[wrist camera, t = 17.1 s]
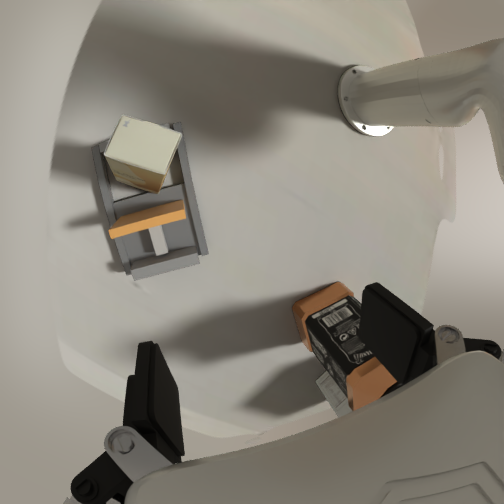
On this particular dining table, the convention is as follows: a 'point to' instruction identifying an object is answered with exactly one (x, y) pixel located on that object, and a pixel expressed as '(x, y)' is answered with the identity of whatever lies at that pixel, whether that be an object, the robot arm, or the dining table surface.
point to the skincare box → (141, 152)
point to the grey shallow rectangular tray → (176, 233)
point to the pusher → (150, 223)
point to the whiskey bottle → (342, 344)
